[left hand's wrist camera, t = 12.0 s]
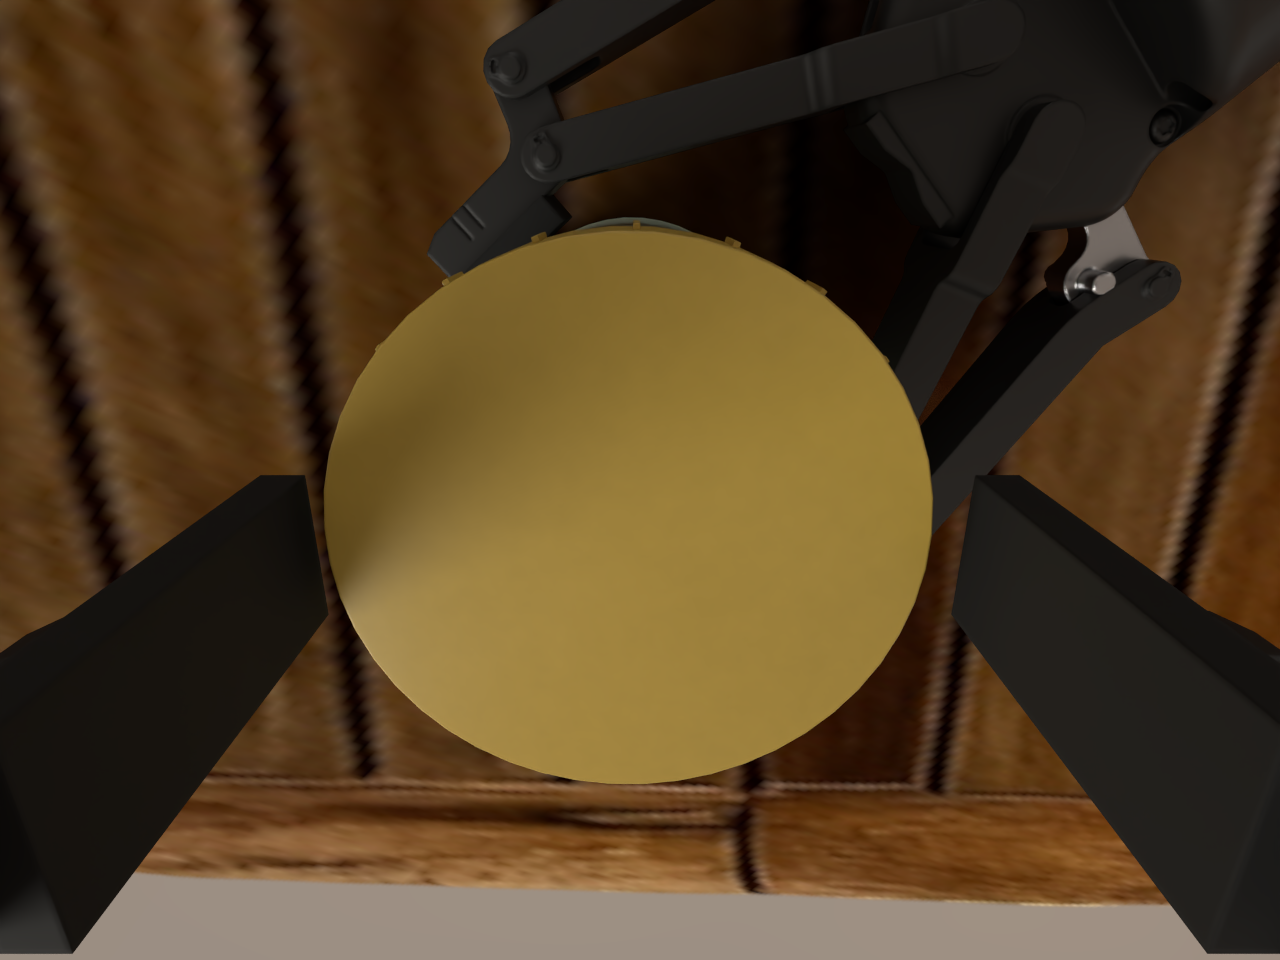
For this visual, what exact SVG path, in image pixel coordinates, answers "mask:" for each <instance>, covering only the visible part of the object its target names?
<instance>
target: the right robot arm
mask: <svg viewBox="0 0 1280 960" xmlns="http://www.w3.org/2000/svg"><path fill="white" fill-rule="evenodd" d="M713 1H715V0H561V1H559V2H558V3H556V4H555V5H553V6H551V7H550V8H548V9H546V10H545V11H543V12H542V13H540V14H538V15H537V16H535V17H534V18H532V19H530V20H529V21H527V22H525V23H524V24H522V25H521V26H519V27H517V28H516V29H514V30H513V31H511V32H509V33H508V34H506V35H505V36H503V37H501V38H500V39H498V40H496V41H495V42H494V43H493V44H492V45H491V46H490V47H489V48H488V50H487V53H486V55H485V57H484V74H485V77H486V80H487V83H488V84H489V85H490V87H491V88H492V89H493V91H494V93H495V96H496V98H497V101H498V103H499V105H500V108H501V110H502V112H503V115H504V117H505V120H506V122H507V124H508V128H509V131H510V140H511V143H510V149H509V153H508V155H507V157H506V159H505V161H504V162H503V163H502V165H501V166H500V167H499V168H498V169H497V170H496V171H495V172H494V173H493V174H492V175H491V176H490V177H489V178H488V179H487V180H486V181H485V182H484V183H483V184H482V186H481V187H480V188H479V189H478V190H477V191H476V192H475V193H474V194H473V195H472V196H471V197H470V198H469V199H468V200H467V201H466V202H465V203H464V204H463V205H462V206H461V207H460V208H459V209H458V210H457V211H456V212H455V213H454V214H453V215H452V217H451V218H449V220H448V221H447V222H446V223H445V224H444V225H443V226H442V227H441V228H440V229H439V230H438V231H437V232H436V233H435V234H434V237H433V240H432V242H431V245H430V247H429V250H428V253H427V255H428V256H429V257H430V258H431V259H432V260H433V261H434V262H435V263H436V264H437V265H438V266H439V267H440V268H441V269H442V270H443V272H444V273H445V274H446V275H447V276H448V277H451V276H453V275H455V274H457V273H459V272H461V271H462V272H463V274H465V273H467V272H468V271H470V270H472V269H473V268H475V267H477V266H478V265H480V264H482V263H484V262H487V261H489V260H491V259H493V258H495V257H497V256H499V255H502V254H504V253H506V252H509V251H511V250H513V249H516V248H518V247H521V246H523V245H525V244H528V243H530V242H532V240H531V237H533V236H535V235H537V234H539V233H543V232H546V235H547V237H551V236H553V235H554V234H555V233H556V232H557V231H558V230H559V229H560V228H561V227H562V226H564V225H565V224H566V223H567V222H568V221H569V220H570V219H571V218H572V216H571V215H570V214H569V212H568V211H567V210H566V209H565V208H564V207H563V206H562V204H561V203H560V202H559V201H558V200H557V199H556V198H555V196H554V195H553V194H554V193H555V192H556V191H557V190H558V189H559V188H560V187H561V186H562V185H563V184H565V183H566V182H570V181H574V180H577V179H581V178H585V177H588V176H592V175H596V174H600V173H603V172H607V171H611V170H615V169H618V168H622V167H626V166H630V165H633V164H637V163H641V162H645V161H648V160H652V159H656V158H659V157H663V156H667V155H671V154H674V153H678V152H682V151H686V150H689V149H693V148H697V147H701V146H704V145H708V144H712V143H715V142H719V141H723V140H727V139H730V138H734V137H738V136H742V135H745V134H749V133H753V132H757V131H760V130H764V129H768V128H771V127H775V126H779V125H783V124H786V123H790V122H795V121H799V120H803V119H807V118H811V117H815V116H819V115H822V114H826V113H830V112H834V111H837V110H841V109H844V110H845V116H846V120H847V123H848V126H847V127H846V128H845V129H844V131H845V133H846V134H847V136H848V137H849V138H850V140H851V141H852V143H853V144H854V145H855V147H856V148H857V150H858V151H859V152H860V154H861V155H863V156H864V157H865V158H867V159H868V160H869V161H871V162H872V163H873V164H874V165H876V166H877V167H878V168H880V169H881V170H882V171H883V172H884V173H885V175H886V177H887V180H888V183H889V186H890V189H891V191H892V194H893V197H894V200H895V203H896V204H897V205H898V207H899V208H900V209H901V211H902V212H903V214H904V215H905V216H906V218H907V219H908V221H909V222H910V223H911V225H917V226H920V228H919V230H918V232H917V234H916V237H915V239H914V241H913V243H912V245H911V247H910V249H909V251H908V254H907V256H906V258H905V263H904V275H903V278H902V280H901V282H900V284H899V286H898V288H897V290H896V293H895V295H894V297H893V299H892V301H891V303H890V305H889V307H888V309H887V311H886V313H885V315H884V317H883V319H882V322H881V324H880V326H879V328H878V330H877V332H876V334H875V336H874V338H873V340H872V342H873V344H874V345H875V346H876V347H877V348H878V349H879V351H880V352H881V353H882V354H883V355H885V356H886V357H887V358H888V360H889V362H888V364H889V365H890V367H891V369H892V370H893V372H894V373H895V375H896V377H897V378H898V380H899V381H900V383H901V385H902V386H903V388H904V390H905V392H906V395H907V397H908V399H909V402H910V404H911V406H912V409H913V411H914V413H915V415H916V418H917V420H918V419H919V417H920V415H921V413H922V411H923V409H924V408H925V406H926V404H927V402H928V400H929V398H930V396H931V394H932V392H933V390H934V389H935V387H936V385H937V383H938V381H939V379H940V377H941V375H942V373H943V371H944V369H945V368H946V366H947V364H948V362H949V360H950V358H951V356H952V354H953V352H954V350H955V349H956V347H957V345H958V343H959V341H960V339H961V337H962V335H963V333H964V331H965V329H966V328H967V326H968V324H969V322H970V320H971V318H972V316H973V314H974V312H975V310H976V309H977V307H978V305H979V304H980V302H981V301H982V300H983V299H985V298H986V297H988V296H989V295H991V294H992V293H993V292H994V291H995V290H996V289H997V287H998V286H999V284H1000V283H1001V281H1002V279H1003V277H1004V276H1005V274H1006V272H1007V270H1008V268H1009V266H1010V264H1011V262H1012V260H1013V259H1014V257H1015V255H1016V253H1017V251H1018V249H1019V247H1020V245H1021V243H1022V242H1023V240H1024V238H1025V236H1026V234H1027V232H1037V231H1046V230H1056V229H1065V228H1067V231H1068V243H1067V246H1066V249H1065V250H1064V252H1063V254H1062V255H1061V256H1060V257H1059V258H1058V259H1057V260H1056V261H1055V262H1054V264H1052V265H1050V266H1049V267H1048V268H1047V269H1046V271H1045V274H1044V278H1045V281H1046V285H1047V287H1046V288H1045V289H1043V290H1042V291H1041V292H1039V293H1038V294H1037V295H1035V296H1034V297H1033V298H1032V299H1031V300H1030V301H1029V302H1027V303H1026V304H1025V305H1024V306H1023V307H1022V308H1021V309H1020V310H1019V311H1018V312H1017V313H1016V314H1015V315H1014V317H1013V318H1012V319H1011V320H1010V321H1009V322H1008V323H1007V324H1006V326H1005V327H1004V328H1003V329H1002V330H1001V332H1000V333H999V334H998V335H997V336H996V337H995V339H994V340H993V341H992V342H991V343H990V345H989V346H988V347H987V348H986V349H985V350H984V352H983V353H982V354H981V355H980V356H979V358H978V359H977V360H976V361H975V362H974V363H973V365H972V366H971V367H970V368H969V369H968V371H967V372H966V373H965V374H964V375H963V376H962V378H961V379H960V380H959V381H958V382H957V384H956V385H955V386H954V387H953V388H952V389H951V391H950V392H949V393H948V394H947V395H946V397H945V398H944V399H943V400H942V401H941V402H940V404H939V405H938V406H937V407H936V408H935V410H934V411H933V412H932V413H931V414H930V415H929V417H928V418H927V419H926V420H925V421H924V423H923V424H922V425H921V426H920V429H921V433H922V436H923V440H924V444H925V448H926V451H927V455H928V459H929V466H930V474H931V483H932V492H933V516H932V535H933V533H934V532H935V531H936V530H937V529H938V528H939V527H940V526H941V525H942V523H943V522H944V521H945V520H946V519H947V518H948V517H949V516H950V515H951V514H952V512H953V511H954V510H955V509H956V508H957V507H958V506H959V505H960V504H961V502H962V501H963V500H964V499H965V498H966V497H967V496H968V495H969V494H970V492H971V491H972V490H973V485H974V479H975V475H987V474H988V472H989V471H990V470H991V469H992V468H993V467H994V466H995V465H996V464H997V462H998V461H999V460H1000V459H1001V458H1002V457H1003V456H1004V455H1005V454H1006V452H1007V451H1008V450H1009V449H1010V448H1011V447H1012V446H1013V445H1014V444H1015V442H1016V441H1017V440H1018V439H1019V438H1020V437H1021V436H1022V435H1023V434H1024V433H1025V431H1026V430H1027V429H1028V428H1029V427H1030V426H1031V425H1032V424H1033V423H1034V421H1035V420H1036V419H1037V418H1038V417H1039V416H1040V415H1041V414H1042V413H1043V411H1044V410H1045V409H1046V408H1047V407H1048V406H1049V405H1050V404H1051V403H1052V401H1053V400H1054V399H1055V398H1056V397H1057V396H1058V395H1059V394H1060V393H1061V391H1062V390H1063V389H1064V388H1065V387H1066V386H1067V385H1068V384H1069V383H1070V381H1071V380H1072V379H1073V378H1074V377H1075V376H1076V375H1077V374H1078V373H1079V371H1080V370H1081V369H1082V368H1083V367H1084V366H1085V365H1086V364H1087V363H1088V362H1089V360H1090V359H1091V358H1092V357H1093V356H1094V355H1095V354H1096V353H1097V352H1098V350H1099V349H1100V348H1101V347H1102V346H1103V345H1105V344H1106V343H1108V342H1110V341H1111V340H1113V339H1114V338H1116V337H1118V336H1119V335H1121V334H1122V333H1124V332H1126V331H1127V330H1129V329H1130V328H1132V327H1134V326H1135V325H1137V324H1138V323H1140V322H1142V321H1143V320H1145V319H1146V318H1148V317H1150V316H1151V315H1153V314H1154V313H1156V312H1158V311H1159V310H1161V309H1162V308H1164V307H1166V306H1167V305H1168V304H1169V303H1170V302H1171V301H1172V300H1174V298H1175V296H1176V295H1177V293H1178V292H1179V289H1180V284H1181V277H1180V272H1179V270H1178V269H1177V268H1176V267H1175V265H1173V264H1170V263H1168V262H1164V261H1157V260H1150V259H1148V258H1147V256H1146V254H1145V252H1144V250H1143V248H1142V245H1141V243H1140V241H1139V239H1138V237H1137V234H1136V232H1135V230H1134V228H1133V226H1132V223H1131V221H1130V219H1129V217H1128V215H1127V212H1126V210H1125V208H1124V206H1123V205H1124V204H1125V203H1126V202H1127V201H1128V199H1129V198H1130V197H1131V195H1132V194H1133V192H1134V190H1135V188H1136V186H1137V184H1138V182H1139V181H1140V179H1141V177H1142V175H1143V174H1144V172H1145V171H1146V169H1147V168H1148V166H1149V165H1150V164H1151V162H1152V161H1153V160H1154V159H1155V158H1156V157H1157V155H1158V154H1159V153H1160V152H1161V151H1163V150H1164V149H1165V148H1166V147H1167V146H1169V145H1170V144H1172V143H1173V142H1174V141H1176V140H1177V139H1179V138H1180V137H1182V136H1183V135H1185V134H1186V133H1187V132H1189V131H1190V130H1192V129H1193V128H1195V127H1196V126H1197V125H1199V124H1200V123H1202V122H1203V121H1204V120H1206V119H1207V118H1208V117H1210V116H1211V115H1212V114H1214V113H1215V112H1216V111H1217V110H1219V109H1220V108H1221V107H1222V106H1224V105H1225V104H1226V103H1228V102H1229V101H1230V100H1231V99H1233V98H1234V97H1235V96H1236V95H1238V94H1239V93H1240V92H1241V91H1243V90H1244V89H1245V88H1246V87H1248V86H1249V85H1250V84H1251V83H1253V82H1254V81H1255V80H1256V79H1258V78H1259V77H1260V76H1261V75H1263V74H1264V73H1265V72H1266V71H1268V70H1269V69H1270V68H1271V67H1273V66H1274V65H1275V64H1276V63H1278V62H1279V61H1280V0H869V3H868V7H867V10H866V14H865V18H864V21H863V25H862V28H861V32H860V35H859V37H857V38H853V39H849V40H846V41H842V42H838V43H835V44H832V45H828V46H825V47H822V48H819V49H817V50H814V51H812V52H809V53H807V54H804V55H800V56H797V57H793V58H790V59H786V60H782V61H779V62H775V63H772V64H768V65H764V66H761V67H757V68H753V69H750V70H746V71H742V72H739V73H735V74H732V75H728V76H724V77H721V78H717V79H713V80H710V81H706V82H702V83H699V84H695V85H692V86H688V87H684V88H681V89H677V90H673V91H670V92H666V93H662V94H659V95H655V96H651V97H648V98H644V99H641V100H637V101H633V102H630V103H626V104H622V105H619V106H615V107H611V108H608V109H604V110H601V111H597V112H593V113H590V114H586V115H582V116H579V117H575V118H571V119H568V120H564V118H563V115H562V113H561V110H560V108H559V105H558V103H557V100H556V98H555V95H557V94H559V93H560V92H562V91H564V90H565V89H567V88H569V87H570V86H572V85H574V84H575V83H577V82H579V81H581V80H582V79H584V78H586V77H587V76H589V75H591V74H592V73H594V72H596V71H597V70H599V69H601V68H602V67H604V66H606V65H607V64H609V63H611V62H612V61H614V60H616V59H617V58H619V57H621V56H622V55H624V54H626V53H627V52H629V51H631V50H632V49H634V48H636V47H638V46H639V45H641V44H643V43H644V42H646V41H648V40H649V39H651V38H653V37H654V36H656V35H658V34H659V33H661V32H663V31H664V30H666V29H668V28H669V27H671V26H673V25H674V24H676V23H678V22H679V21H681V20H683V19H684V18H686V17H688V16H689V15H691V14H693V13H695V12H696V11H698V10H700V9H701V8H703V7H705V6H706V5H708V4H710V3H711V2H713Z"/></svg>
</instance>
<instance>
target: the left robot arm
mask: <svg viewBox="0 0 1280 960" xmlns="http://www.w3.org/2000/svg"><path fill="white" fill-rule="evenodd" d="M327 616H328V609H327V603H326V597H325V591H324V585H323V579H322V573H321V567H320V561H319V556H318V550H317V544H316V538H315V532H314V526H313V520H312V514H311V508H310V503H309V497H308V491H307V485H306V479H305V475H260V476H259V477H258V478H256V479H255V480H253V481H252V482H251V483H249V484H248V485H246V486H245V487H244V488H242V489H241V490H240V491H238V492H237V493H235V494H234V495H233V496H231V497H230V498H228V499H227V500H226V501H224V502H223V503H222V504H220V505H219V506H217V507H216V508H215V509H213V510H212V511H210V512H209V513H208V514H206V515H205V516H204V517H202V518H201V519H199V520H198V521H197V522H195V523H194V524H192V525H191V526H190V527H188V528H187V529H186V530H184V531H183V532H181V533H180V534H179V535H177V536H176V537H174V538H173V539H172V540H170V541H169V542H168V543H166V544H165V545H163V546H162V547H161V548H159V549H158V550H156V551H155V552H154V553H152V554H151V555H150V556H148V557H147V558H145V559H144V560H143V561H141V562H140V563H138V564H137V565H136V566H134V567H133V568H132V569H130V570H129V571H127V572H126V573H125V574H123V575H122V576H120V577H119V578H118V579H116V580H115V581H113V582H112V583H111V584H109V585H108V586H107V587H105V588H104V589H102V590H101V591H100V592H98V593H97V594H95V595H94V596H93V597H91V598H90V599H89V600H87V601H86V602H84V603H83V604H82V605H80V606H79V607H77V608H76V609H75V610H73V611H72V612H71V613H69V614H68V615H66V616H65V617H63V618H61V619H59V620H57V621H55V622H53V623H50V624H48V625H46V626H44V627H42V628H40V629H38V630H35V631H33V632H31V633H29V634H27V635H25V636H24V637H22V638H21V639H20V640H18V641H17V642H15V643H14V644H13V645H11V646H10V647H8V648H7V649H5V650H4V651H3V652H1V653H0V954H72V953H73V952H74V951H75V950H76V948H77V947H78V946H79V944H80V943H81V942H82V941H83V939H84V938H85V937H86V935H87V934H88V933H89V931H90V930H91V929H92V927H93V926H94V925H95V923H96V922H97V921H98V919H99V918H100V917H101V915H102V914H103V913H104V911H105V910H106V909H107V907H108V906H109V905H110V903H111V902H112V901H113V899H114V898H115V897H116V895H117V894H118V893H119V891H120V890H121V889H122V887H123V886H124V885H125V883H126V882H127V881H128V879H129V878H130V877H131V875H132V874H133V873H134V872H135V870H136V869H137V868H138V866H139V865H140V864H141V862H142V861H143V860H144V858H145V857H146V856H147V854H148V853H149V852H150V850H151V849H152V848H153V846H154V845H155V844H156V842H157V841H158V840H159V838H160V837H161V836H162V834H163V833H164V832H165V830H166V829H167V828H168V827H169V825H170V824H171V823H172V821H173V820H174V819H175V817H176V816H177V815H178V813H179V812H180V811H181V809H182V808H183V807H184V805H185V804H186V803H187V801H188V800H189V799H190V797H191V796H192V795H193V793H194V792H195V791H196V789H197V788H198V787H199V785H200V784H201V783H202V781H203V780H204V779H205V777H206V776H207V775H208V773H209V772H210V771H211V769H212V768H213V767H214V766H215V764H216V763H217V762H218V760H219V759H220V758H221V756H222V755H223V754H224V752H225V751H226V750H227V748H228V747H229V746H230V744H231V743H232V742H233V740H234V739H235V738H236V736H237V735H238V734H239V732H240V731H241V730H242V728H243V727H244V726H245V724H246V723H247V722H248V720H249V719H250V718H251V716H252V715H253V714H254V712H255V711H256V710H257V709H258V707H259V706H260V705H261V703H262V702H263V701H264V699H265V698H266V697H267V695H268V694H269V693H270V691H271V690H272V689H273V687H274V686H275V685H276V683H277V682H278V681H279V679H280V678H281V677H282V675H283V674H284V673H285V671H286V670H287V669H288V667H289V666H290V665H291V663H292V662H293V661H294V659H295V658H296V657H297V655H298V654H299V653H300V652H301V650H302V649H303V648H304V646H305V645H306V644H307V642H308V641H309V640H310V638H311V637H312V636H313V634H314V633H315V632H316V630H317V629H318V628H319V626H320V625H321V624H322V622H323V621H324V620H325V618H326V617H327ZM952 616H953V617H954V618H955V620H956V621H957V622H958V624H959V625H960V626H961V628H962V629H963V630H964V632H965V633H966V634H967V636H968V637H969V638H970V640H971V641H972V642H973V644H974V645H975V646H976V648H977V649H978V650H979V652H980V653H981V654H982V655H983V657H984V658H985V659H986V661H987V662H988V663H989V665H990V666H991V667H992V669H993V670H994V671H995V673H996V674H997V675H998V677H999V678H1000V679H1001V681H1002V682H1003V683H1004V685H1005V686H1006V687H1007V689H1008V690H1009V691H1010V693H1011V694H1012V695H1013V697H1014V698H1015V699H1016V701H1017V702H1018V703H1019V705H1020V706H1021V707H1022V709H1023V710H1024V711H1025V712H1026V714H1027V715H1028V716H1029V718H1030V719H1031V720H1032V722H1033V723H1034V724H1035V726H1036V727H1037V728H1038V730H1039V731H1040V732H1041V734H1042V735H1043V736H1044V738H1045V739H1046V740H1047V742H1048V743H1049V744H1050V746H1051V747H1052V748H1053V750H1054V751H1055V752H1056V754H1057V755H1058V756H1059V758H1060V759H1061V760H1062V762H1063V763H1064V764H1065V766H1066V767H1067V768H1068V769H1069V771H1070V772H1071V773H1072V775H1073V776H1074V777H1075V779H1076V780H1077V781H1078V783H1079V784H1080V785H1081V787H1082V788H1083V789H1084V791H1085V792H1086V793H1087V795H1088V796H1089V797H1090V799H1091V800H1092V801H1093V803H1094V804H1095V805H1096V807H1097V808H1098V809H1099V811H1100V812H1101V813H1102V815H1103V816H1104V817H1105V819H1106V820H1107V821H1108V823H1109V824H1110V825H1111V827H1112V828H1113V829H1114V830H1115V832H1116V833H1117V834H1118V836H1119V837H1120V838H1121V840H1122V841H1123V842H1124V844H1125V845H1126V846H1127V848H1128V849H1129V850H1130V852H1131V853H1132V854H1133V856H1134V857H1135V858H1136V860H1137V861H1138V862H1139V864H1140V865H1141V866H1142V868H1143V869H1144V870H1145V872H1146V873H1147V874H1148V876H1149V877H1150V878H1151V880H1152V881H1153V882H1154V884H1155V885H1156V886H1157V887H1158V889H1159V890H1160V891H1161V893H1162V894H1163V895H1164V897H1165V898H1166V899H1167V901H1168V902H1169V903H1170V905H1171V906H1172V907H1173V909H1174V910H1175V911H1176V913H1177V914H1178V915H1179V917H1180V918H1181V919H1182V921H1183V922H1184V923H1185V925H1186V926H1187V927H1188V929H1189V930H1190V931H1191V933H1192V934H1193V935H1194V937H1195V938H1196V939H1197V940H1198V942H1199V943H1200V944H1201V946H1202V947H1203V948H1204V950H1205V951H1206V952H1207V954H1280V649H1278V648H1277V647H1275V646H1274V645H1273V644H1271V643H1270V642H1268V641H1267V640H1265V639H1264V638H1263V637H1261V636H1260V635H1258V634H1257V633H1255V632H1254V631H1251V630H1249V629H1247V628H1245V627H1243V626H1241V625H1238V624H1236V623H1234V622H1232V621H1230V620H1228V619H1226V618H1223V617H1221V616H1219V615H1217V614H1215V613H1213V612H1210V611H1207V610H1205V609H1204V608H1203V607H1201V606H1200V605H1198V604H1197V603H1196V602H1194V601H1193V600H1191V599H1190V598H1189V597H1187V596H1186V595H1185V594H1183V593H1182V592H1180V591H1179V590H1178V589H1176V588H1175V587H1173V586H1172V585H1171V584H1169V583H1168V582H1167V581H1165V580H1164V579H1162V578H1161V577H1160V576H1158V575H1157V574H1155V573H1154V572H1153V571H1151V570H1150V569H1148V568H1147V567H1146V566H1144V565H1143V564H1142V563H1140V562H1139V561H1137V560H1136V559H1135V558H1133V557H1132V556H1130V555H1129V554H1128V553H1126V552H1125V551H1124V550H1122V549H1121V548H1119V547H1118V546H1117V545H1115V544H1114V543H1112V542H1111V541H1110V540H1108V539H1107V538H1106V537H1104V536H1103V535H1101V534H1100V533H1099V532H1097V531H1096V530H1094V529H1093V528H1092V527H1090V526H1089V525H1088V524H1086V523H1085V522H1083V521H1082V520H1081V519H1079V518H1078V517H1076V516H1075V515H1074V514H1072V513H1071V512H1070V511H1068V510H1067V509H1065V508H1064V507H1063V506H1061V505H1060V504H1058V503H1057V502H1056V501H1054V500H1053V499H1052V498H1050V497H1049V496H1047V495H1046V494H1045V493H1043V492H1042V491H1040V490H1039V489H1038V488H1036V487H1035V486H1034V485H1032V484H1031V483H1029V482H1028V481H1027V480H1025V479H1024V478H1022V477H1021V476H1020V475H975V479H974V485H973V491H972V497H971V503H970V508H969V514H968V520H967V526H966V532H965V538H964V544H963V550H962V556H961V561H960V567H959V573H958V579H957V585H956V591H955V597H954V603H953V609H952Z"/></svg>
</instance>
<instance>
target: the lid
mask: <svg viewBox="0 0 1280 960" xmlns="http://www.w3.org/2000/svg"><path fill="white" fill-rule="evenodd" d="M531 240H532V242H530V243H528V244H525V245H523V246H521V247H518V248H516V249H513V250H511V251H509V252H506V253H504V254H502V255H499V256H497V257H495V258H493V259H491V260H489V261H487V262H484V263H482V264H480V265H478V266H477V267H475V268H473V269H472V270H470V271H468V272H467V273H465V274H463V272H462V271H461V272H459V273H457V274H455V275H453V276H451V277H449V278H446V279H445V280H444V281H442V284H443V285H444V287H442V288H440V289H439V290H438V291H437V292H436V293H434V294H433V295H432V296H431V297H429V298H428V299H427V300H426V301H425V302H423V303H422V304H421V305H420V306H418V307H417V308H416V309H415V310H414V311H412V312H411V313H410V314H409V315H408V316H407V317H406V318H405V319H404V320H403V321H402V322H401V323H400V324H399V325H398V327H397V328H396V329H395V330H394V331H393V332H392V333H391V334H390V335H389V336H388V338H387V339H386V340H385V341H384V342H382V343H380V344H379V345H378V346H377V347H376V349H375V350H376V352H375V354H374V355H373V357H372V358H371V360H370V361H369V363H368V364H367V366H366V367H365V369H364V370H363V372H362V373H361V375H360V376H359V378H358V379H357V381H356V383H355V385H354V388H353V390H352V392H351V394H350V396H349V398H348V400H347V402H346V405H345V407H344V409H343V411H342V413H341V415H340V418H339V422H338V425H337V428H336V432H335V435H334V438H333V442H332V445H331V448H330V452H329V458H328V465H327V472H326V479H325V487H324V528H325V534H326V541H327V547H328V554H329V561H330V565H331V568H332V572H333V575H334V578H335V582H336V585H337V588H338V592H339V595H340V598H341V600H342V602H343V604H344V606H345V609H346V611H347V613H348V615H349V617H350V620H351V622H352V624H353V626H354V628H355V630H356V632H357V633H358V635H359V636H360V638H361V640H362V641H363V643H364V644H365V646H366V648H367V649H368V651H369V652H370V654H371V656H372V657H373V659H374V660H375V661H376V662H377V664H378V665H379V666H380V667H381V669H382V670H383V671H384V672H385V673H386V675H387V676H388V677H389V678H390V679H391V681H392V682H393V683H394V684H395V686H396V687H398V688H399V689H400V690H401V691H402V692H403V693H404V694H405V695H406V696H407V697H408V698H409V699H410V700H411V701H412V702H413V703H414V704H415V705H416V706H417V707H418V708H419V709H421V710H422V711H423V712H425V713H426V714H427V715H429V716H430V717H431V718H433V719H434V720H435V721H436V722H438V723H439V724H440V725H442V726H443V727H444V728H446V729H447V730H449V731H450V732H452V733H454V734H455V735H457V736H459V737H460V738H462V739H464V740H465V741H467V742H469V743H471V744H472V745H474V746H476V747H477V748H479V749H482V750H484V751H486V752H488V753H491V754H493V755H495V756H497V757H499V758H502V759H504V760H506V761H508V762H511V763H514V764H517V765H520V766H523V767H526V768H529V769H532V770H535V771H538V772H541V773H546V774H551V775H555V776H560V777H565V778H569V779H574V780H581V781H590V782H600V783H609V784H647V783H658V782H668V781H678V780H683V779H688V778H693V777H698V776H703V775H708V774H713V773H716V772H719V771H722V770H725V769H729V768H732V767H735V766H738V765H741V764H745V763H747V762H749V761H751V760H754V759H756V758H758V757H761V756H763V755H765V754H768V753H770V752H772V751H775V750H777V749H778V748H780V747H782V746H784V745H785V744H787V743H789V742H791V741H792V740H794V739H796V738H798V737H799V736H801V735H803V734H805V733H806V732H808V731H809V730H810V729H812V728H813V727H814V726H816V725H817V724H819V723H820V722H821V721H823V720H824V719H825V718H827V717H828V716H829V715H831V714H832V713H834V712H835V711H836V710H837V709H838V708H839V707H840V706H841V705H842V704H843V703H844V702H845V701H847V700H848V699H849V698H850V697H851V696H852V695H853V694H854V693H855V692H856V691H857V690H858V689H859V688H860V687H861V686H862V685H863V684H864V682H865V681H866V680H867V679H868V678H869V676H870V675H871V674H872V673H873V672H874V671H875V669H876V668H877V667H878V666H879V665H880V663H881V662H882V660H883V659H884V657H885V656H886V654H887V653H888V651H889V650H890V648H891V647H892V645H893V644H894V642H895V641H896V639H897V638H898V636H899V634H900V632H901V630H902V628H903V626H904V624H905V622H906V620H907V618H908V616H909V614H910V612H911V610H912V608H913V605H914V603H915V601H916V598H917V594H918V591H919V588H920V585H921V582H922V579H923V576H924V573H925V570H926V565H927V559H928V553H929V548H930V542H931V536H932V516H933V492H932V483H931V474H930V466H929V459H928V455H927V451H926V448H925V444H924V440H923V436H922V433H921V429H920V425H919V422H918V420H917V418H916V415H915V413H914V411H913V409H912V406H911V404H910V402H909V399H908V397H907V395H906V392H905V390H904V388H903V386H902V385H901V383H900V381H899V380H898V378H897V377H896V375H895V373H894V372H893V370H892V369H891V367H890V365H889V364H888V362H889V360H888V358H887V357H886V356H885V355H883V354H882V353H881V352H880V351H879V349H878V348H877V347H876V346H875V345H874V344H873V342H872V341H871V340H870V339H869V338H868V337H867V335H866V334H865V333H864V332H863V331H862V329H861V328H860V327H859V326H858V325H857V324H856V322H855V321H853V320H852V319H851V318H850V317H849V316H848V315H847V314H845V313H844V312H843V311H842V310H841V309H840V308H838V307H837V306H836V305H835V304H834V303H833V302H832V301H830V300H829V299H828V298H827V297H826V296H825V294H826V293H827V291H826V290H825V289H823V288H822V287H820V286H818V285H816V284H814V283H812V282H810V281H808V280H807V281H806V283H805V282H804V281H802V280H801V279H799V278H798V277H796V276H794V275H793V274H791V273H790V272H788V271H787V270H785V269H783V268H781V267H779V266H777V265H776V264H774V263H772V262H770V261H768V260H766V259H763V258H761V257H759V256H757V255H755V254H753V253H750V252H748V251H746V250H744V249H742V248H740V245H741V243H740V242H738V241H736V240H734V239H732V238H729V237H726V239H725V242H723V241H720V240H717V239H713V238H710V237H707V236H703V235H700V234H697V233H692V232H686V231H680V230H673V229H667V228H660V227H654V226H640V220H633V226H607V227H599V228H591V229H583V230H575V231H570V232H566V233H562V234H558V235H555V236H551V237H547V235H546V232H543V233H539V234H537V235H535V236H533V237H531Z"/></svg>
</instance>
